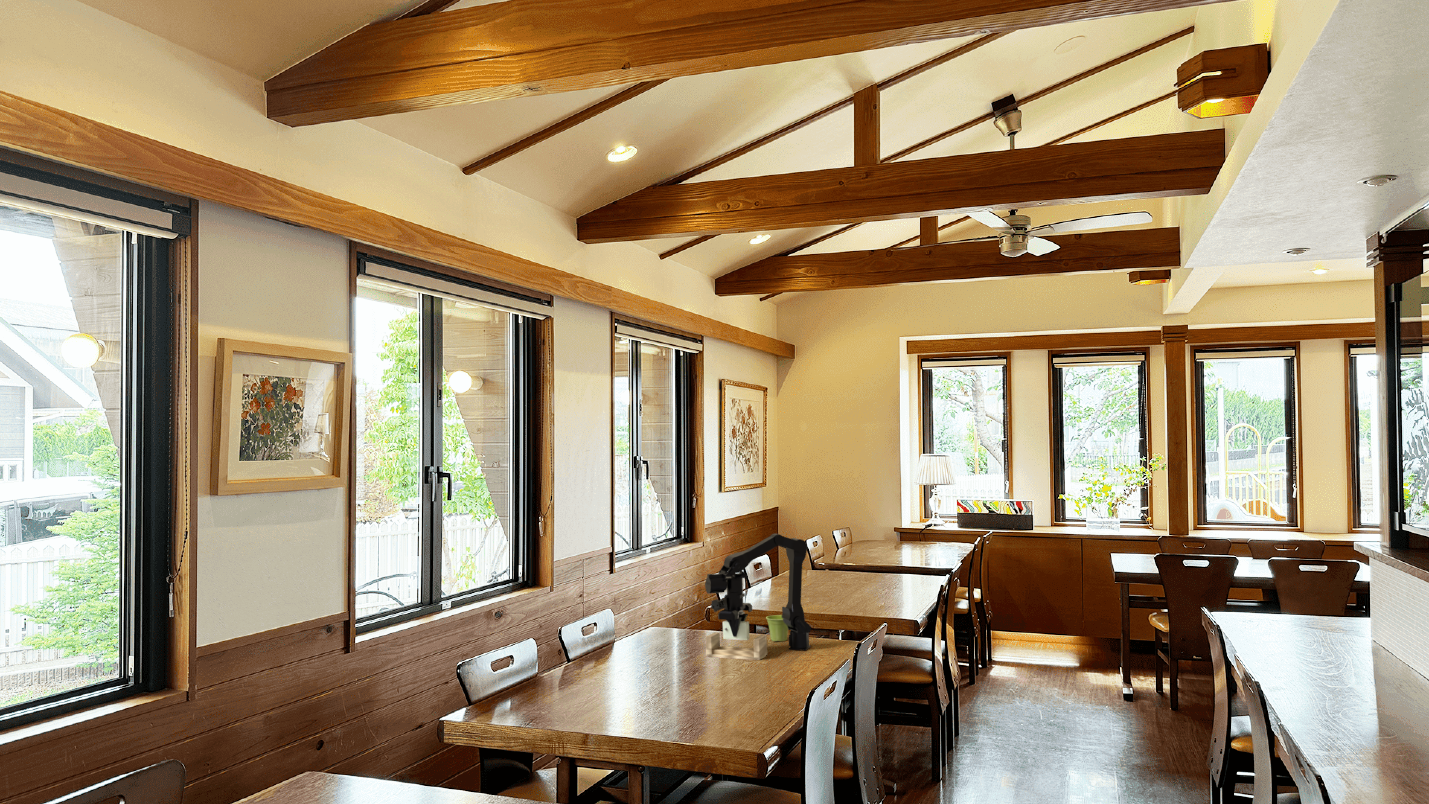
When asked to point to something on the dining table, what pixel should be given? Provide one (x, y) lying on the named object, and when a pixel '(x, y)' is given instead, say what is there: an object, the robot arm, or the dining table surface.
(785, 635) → the plant pot
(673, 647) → the dining table surface
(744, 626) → the pale green rectangular block
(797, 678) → the dining table surface
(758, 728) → the dining table surface
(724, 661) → the dining table surface
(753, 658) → the wooden u-shaped holder
